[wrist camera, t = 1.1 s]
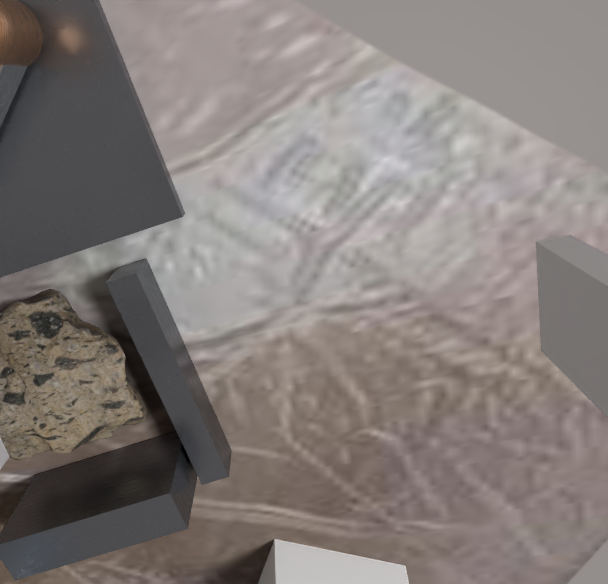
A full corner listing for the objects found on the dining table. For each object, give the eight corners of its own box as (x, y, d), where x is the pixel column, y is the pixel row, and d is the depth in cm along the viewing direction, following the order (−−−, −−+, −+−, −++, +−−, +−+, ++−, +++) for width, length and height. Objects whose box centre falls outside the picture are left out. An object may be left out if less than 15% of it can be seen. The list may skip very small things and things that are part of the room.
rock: (104, 271, 37) (83, 294, 33) (162, 409, 41) (150, 445, 37) (-45, 312, 38) (-83, 339, 34) (26, 445, 42) (0, 483, 38)
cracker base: (29, 512, 44) (-13, 588, 37) (-259, 57, 32) (-397, 51, 25) (275, 437, 42) (276, 502, 36) (73, -64, 30) (19, -104, 24)
